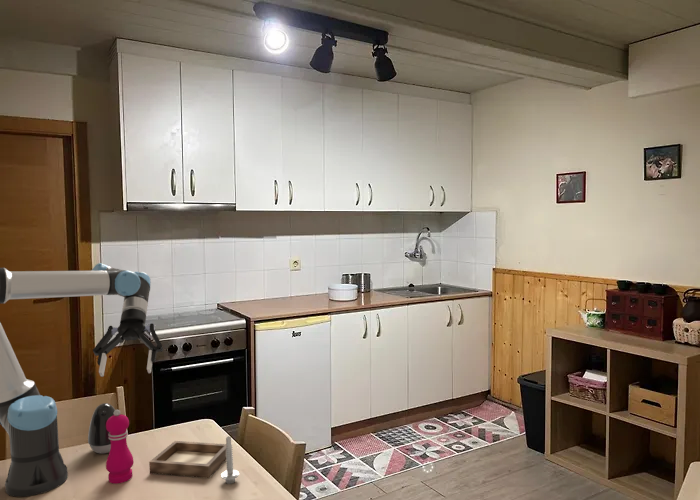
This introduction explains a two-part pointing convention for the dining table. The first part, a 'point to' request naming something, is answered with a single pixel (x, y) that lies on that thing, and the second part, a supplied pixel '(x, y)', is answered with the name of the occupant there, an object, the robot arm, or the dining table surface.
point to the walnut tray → (189, 459)
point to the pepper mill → (118, 449)
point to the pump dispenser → (100, 429)
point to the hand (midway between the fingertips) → (125, 372)
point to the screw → (229, 464)
